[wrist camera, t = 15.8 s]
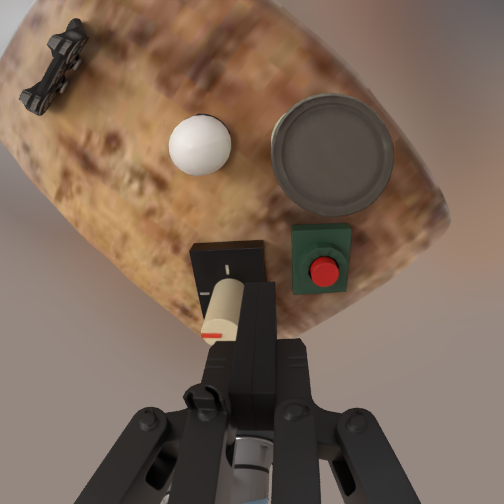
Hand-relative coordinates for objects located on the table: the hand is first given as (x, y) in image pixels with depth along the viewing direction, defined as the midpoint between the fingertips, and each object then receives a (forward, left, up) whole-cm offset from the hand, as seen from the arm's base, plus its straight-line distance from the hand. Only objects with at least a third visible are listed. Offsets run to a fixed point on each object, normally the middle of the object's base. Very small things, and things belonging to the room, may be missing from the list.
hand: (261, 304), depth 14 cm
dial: (-14, +6, -22) cm, 27 cm away
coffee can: (+6, -6, -25) cm, 26 cm away
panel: (-14, +6, -24) cm, 29 cm away
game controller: (+24, +29, -25) cm, 45 cm away
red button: (-10, -7, -21) cm, 24 cm away
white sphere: (+8, +8, -25) cm, 27 cm away
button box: (-10, -7, -24) cm, 27 cm away
